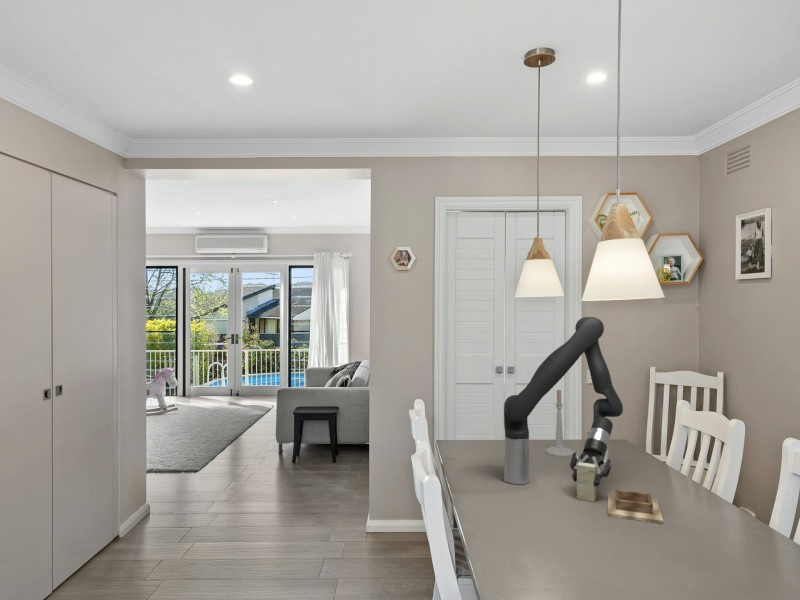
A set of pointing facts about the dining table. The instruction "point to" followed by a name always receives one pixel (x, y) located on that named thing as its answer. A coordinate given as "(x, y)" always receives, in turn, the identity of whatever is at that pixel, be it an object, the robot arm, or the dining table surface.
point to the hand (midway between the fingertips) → (584, 482)
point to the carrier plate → (634, 506)
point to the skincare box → (586, 481)
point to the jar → (605, 454)
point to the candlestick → (559, 433)
